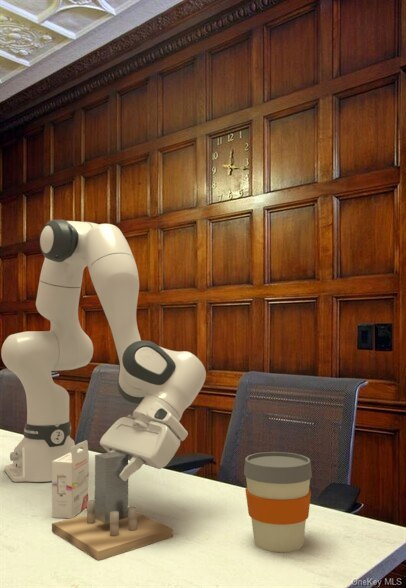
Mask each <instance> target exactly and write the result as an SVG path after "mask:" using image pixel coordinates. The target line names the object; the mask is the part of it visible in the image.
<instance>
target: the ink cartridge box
mask: <svg viewBox="0 0 406 588" xmlns="http://www.w3.org/2000/svg"><path fill="white" fill-rule="evenodd" d="M80 449H82V450H81V451H79V452H78V450H80ZM89 461H90V459H89V444H88V440H87V439H86V440H84V441H81V442H78V443H77V444H75V446H73V447H71V453H68V454H66V455H64V456H62V457H60V458H58V459H56V460H54V461H52V481H51V518H56V519H57V518H61V519H70V518H74V517H77V515H79V514H80V513H81V512H83V511H84V510H85V509H87V501H89V490H90V489H89V487H90V485H89V483H90V482H89V478H90V477H89V475H90V474H89V472H90V471H89V470H90V468H89V465H90V464H89V463H90V462H89Z"/></svg>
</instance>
